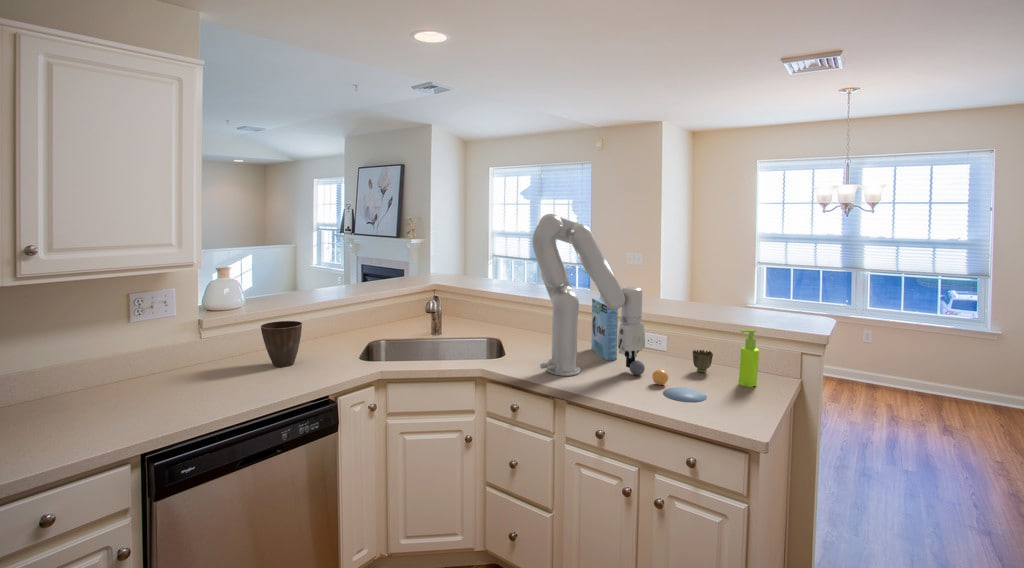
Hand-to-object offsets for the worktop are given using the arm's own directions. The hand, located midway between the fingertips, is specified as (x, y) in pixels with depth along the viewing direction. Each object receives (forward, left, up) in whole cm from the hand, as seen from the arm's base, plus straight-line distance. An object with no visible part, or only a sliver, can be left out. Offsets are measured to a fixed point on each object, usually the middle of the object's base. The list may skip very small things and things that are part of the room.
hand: (630, 367), depth 213 cm
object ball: (-1, -17, +1) cm, 17 cm away
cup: (+24, -12, -2) cm, 27 cm away
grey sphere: (0, -4, +1) cm, 4 cm away
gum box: (+6, +26, -2) cm, 26 cm away
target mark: (-1, -29, -2) cm, 29 cm away
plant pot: (-117, +68, -2) cm, 135 cm away
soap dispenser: (+27, -30, -2) cm, 41 cm away
